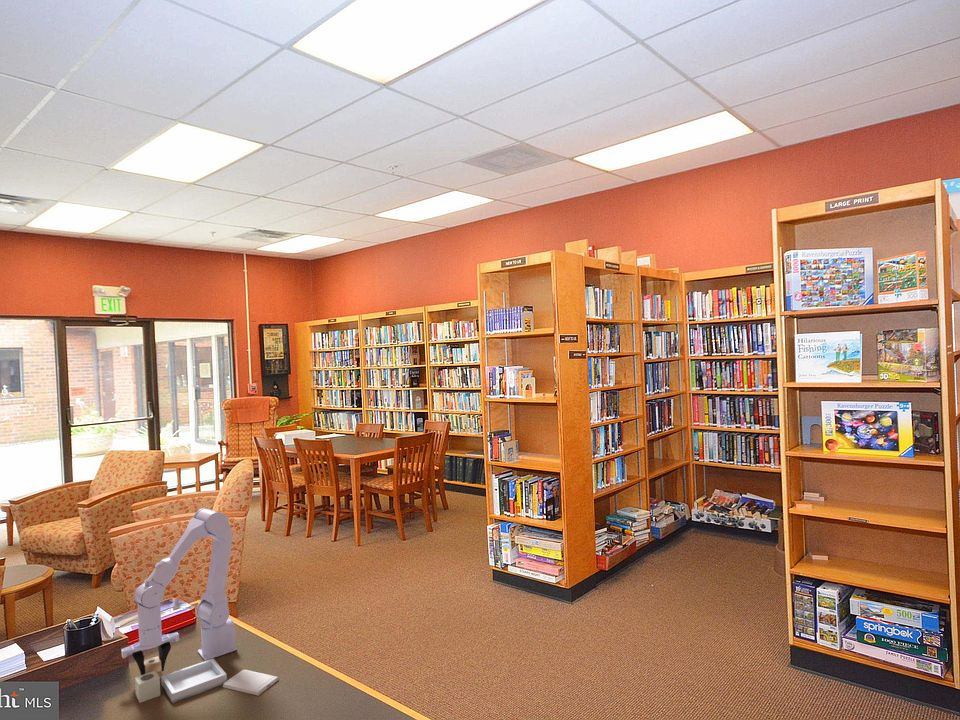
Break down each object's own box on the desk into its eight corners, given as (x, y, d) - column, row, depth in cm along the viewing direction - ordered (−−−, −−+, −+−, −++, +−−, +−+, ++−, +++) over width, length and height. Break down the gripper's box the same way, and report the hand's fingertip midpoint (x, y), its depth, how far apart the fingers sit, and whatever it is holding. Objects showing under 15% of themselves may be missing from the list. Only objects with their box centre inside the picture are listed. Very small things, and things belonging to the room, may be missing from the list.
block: (158, 672, 178) (157, 655, 178) (161, 678, 175) (161, 660, 175) (143, 678, 175) (142, 660, 175) (146, 683, 172) (145, 666, 172)
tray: (213, 666, 180) (213, 658, 180) (226, 682, 171) (226, 674, 171) (161, 685, 171) (161, 676, 171) (172, 703, 162) (172, 693, 162)
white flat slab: (222, 683, 169) (257, 691, 164) (244, 668, 177) (278, 675, 172) (222, 689, 169) (258, 697, 164) (244, 674, 177) (279, 681, 172)
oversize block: (156, 688, 170) (155, 670, 170) (160, 695, 166) (159, 677, 166) (135, 695, 167) (134, 677, 167) (139, 703, 163) (138, 684, 163)
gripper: (173, 614, 183) (176, 658, 183) (118, 629, 173) (120, 677, 174) (180, 621, 177) (182, 667, 177) (123, 638, 168) (125, 687, 168)
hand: (152, 673), depth 175 cm, fingers open, 4 cm apart
